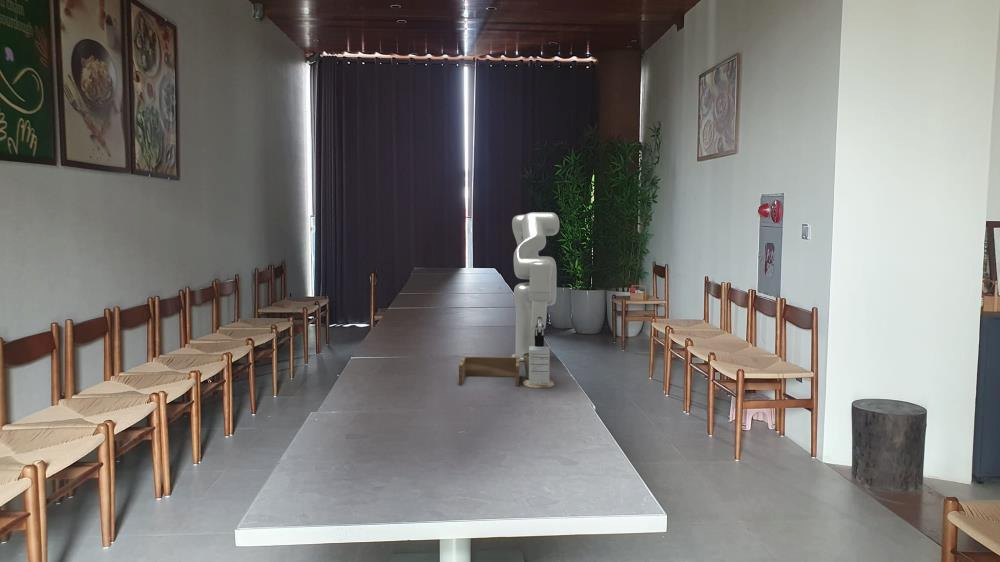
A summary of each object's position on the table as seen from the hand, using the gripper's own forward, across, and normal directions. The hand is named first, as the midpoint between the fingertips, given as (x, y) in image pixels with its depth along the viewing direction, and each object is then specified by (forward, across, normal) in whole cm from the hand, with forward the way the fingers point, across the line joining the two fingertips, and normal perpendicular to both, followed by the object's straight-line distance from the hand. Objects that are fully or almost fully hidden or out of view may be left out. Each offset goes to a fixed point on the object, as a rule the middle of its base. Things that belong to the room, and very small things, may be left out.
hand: (539, 343), depth 268 cm
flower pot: (+15, -9, -1) cm, 18 cm away
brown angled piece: (+15, -4, -18) cm, 23 cm away
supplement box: (+14, +1, 0) cm, 14 cm away
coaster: (+15, +1, 0) cm, 15 cm away
